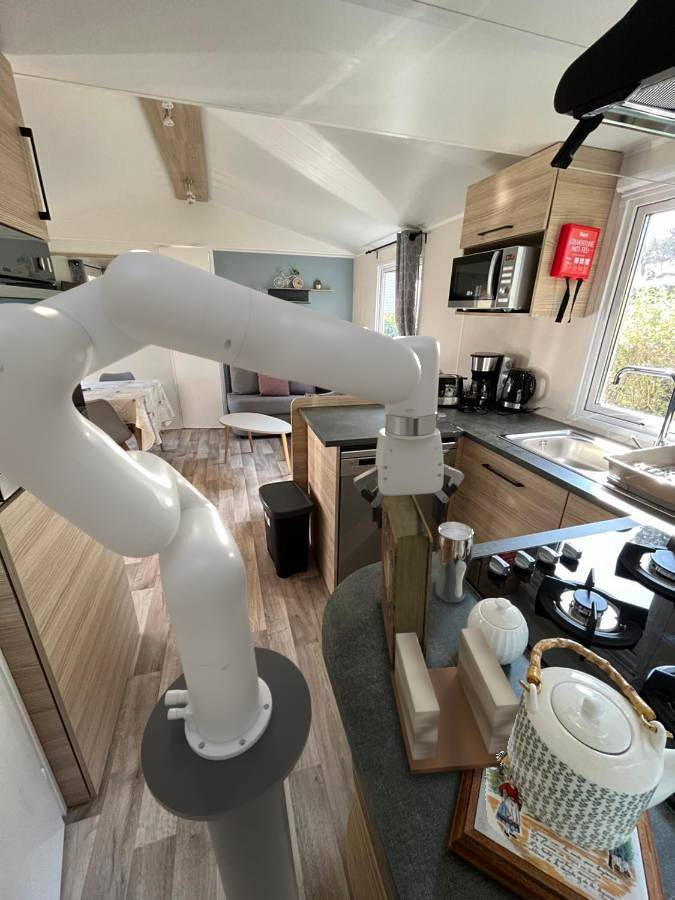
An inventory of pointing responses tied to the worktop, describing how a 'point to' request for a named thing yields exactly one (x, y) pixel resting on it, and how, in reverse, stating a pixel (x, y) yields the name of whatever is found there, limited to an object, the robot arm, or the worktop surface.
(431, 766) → the book rack
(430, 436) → the robot arm
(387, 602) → the book
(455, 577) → the silver metal cylinder
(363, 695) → the worktop surface
